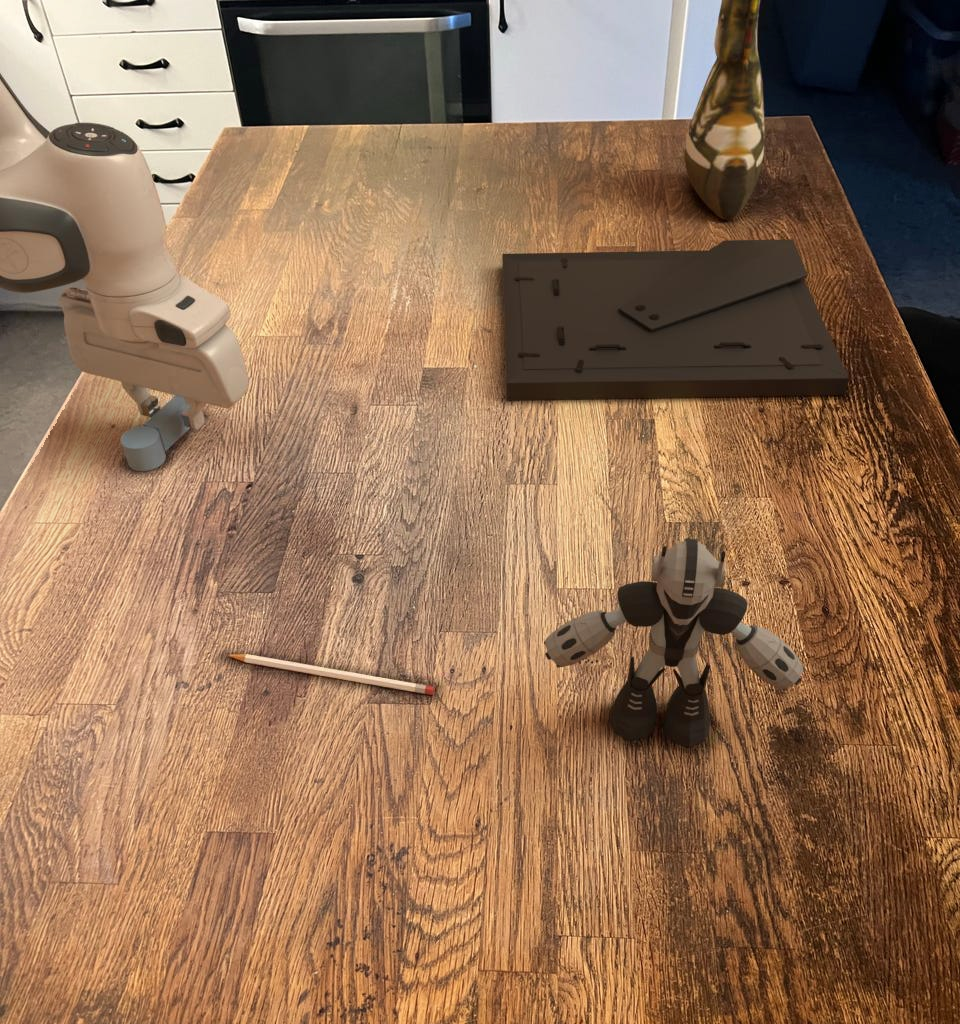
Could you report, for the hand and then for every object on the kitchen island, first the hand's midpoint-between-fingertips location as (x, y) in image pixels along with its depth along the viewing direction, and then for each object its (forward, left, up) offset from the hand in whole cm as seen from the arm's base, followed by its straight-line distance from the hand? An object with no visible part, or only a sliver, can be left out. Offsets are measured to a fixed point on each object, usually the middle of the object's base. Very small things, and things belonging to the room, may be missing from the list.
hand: (173, 419), depth 109 cm
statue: (+66, +61, -2) cm, 89 cm away
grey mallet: (0, -1, -2) cm, 2 cm away
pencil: (+23, -34, -2) cm, 41 cm away
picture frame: (+55, +24, -2) cm, 59 cm away
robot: (+51, -38, -2) cm, 63 cm away
